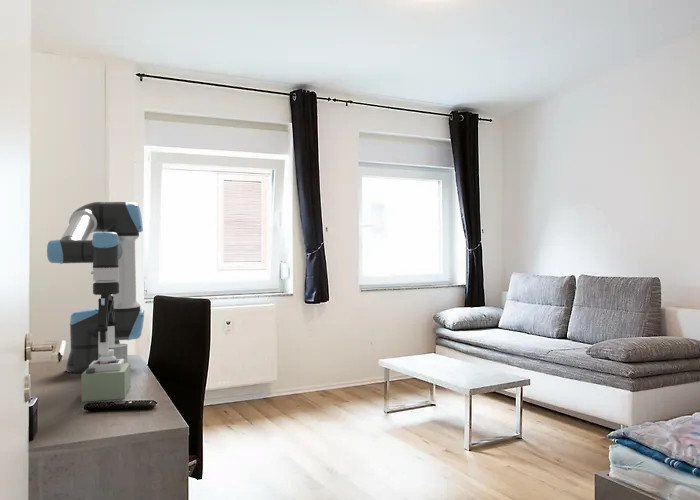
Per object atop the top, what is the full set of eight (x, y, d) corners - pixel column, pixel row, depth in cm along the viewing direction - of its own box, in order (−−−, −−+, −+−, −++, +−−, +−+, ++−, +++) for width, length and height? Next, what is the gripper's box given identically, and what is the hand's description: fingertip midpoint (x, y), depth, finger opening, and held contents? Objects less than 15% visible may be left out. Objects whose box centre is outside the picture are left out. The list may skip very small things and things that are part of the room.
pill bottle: (99, 383, 178) (99, 352, 178) (96, 380, 183) (96, 350, 183) (118, 381, 181) (117, 350, 181) (115, 378, 186) (114, 348, 186)
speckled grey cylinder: (117, 384, 196) (117, 347, 196) (92, 383, 198) (91, 347, 198) (133, 378, 205) (133, 343, 206) (109, 378, 207) (108, 343, 207)
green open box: (91, 390, 188) (90, 359, 188) (130, 387, 191) (130, 356, 191) (81, 401, 172) (81, 367, 172) (124, 398, 175) (124, 365, 175)
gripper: (99, 280, 193) (100, 344, 193) (85, 283, 169) (86, 356, 169) (123, 279, 195) (124, 343, 195) (113, 283, 171) (114, 355, 171)
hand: (106, 349), depth 182 cm, fingers open, 13 cm apart
